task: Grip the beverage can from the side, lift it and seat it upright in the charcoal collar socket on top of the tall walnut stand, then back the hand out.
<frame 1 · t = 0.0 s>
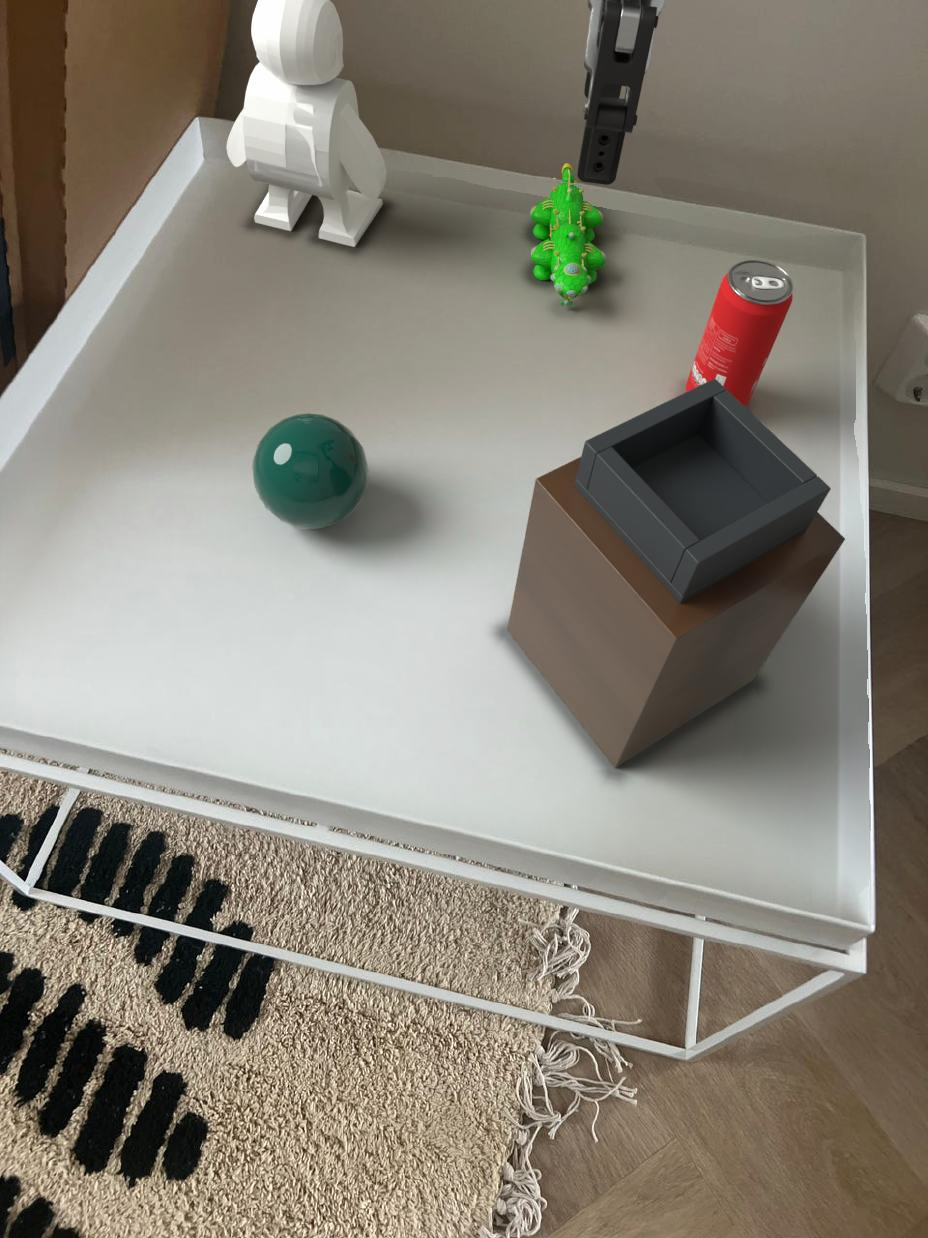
hand: (598, 136, 59), 23 cm above the table, tool pointing down, fingers open, 8 cm apart
sphere: (315, 509, 72), on the table
crocodile figurine: (563, 256, 89), on the table
beverage can: (713, 403, 80), on the table
toy robot: (313, 222, 89), on the table
socket: (689, 508, 53), resting on stand
stand: (629, 655, 67), on the table
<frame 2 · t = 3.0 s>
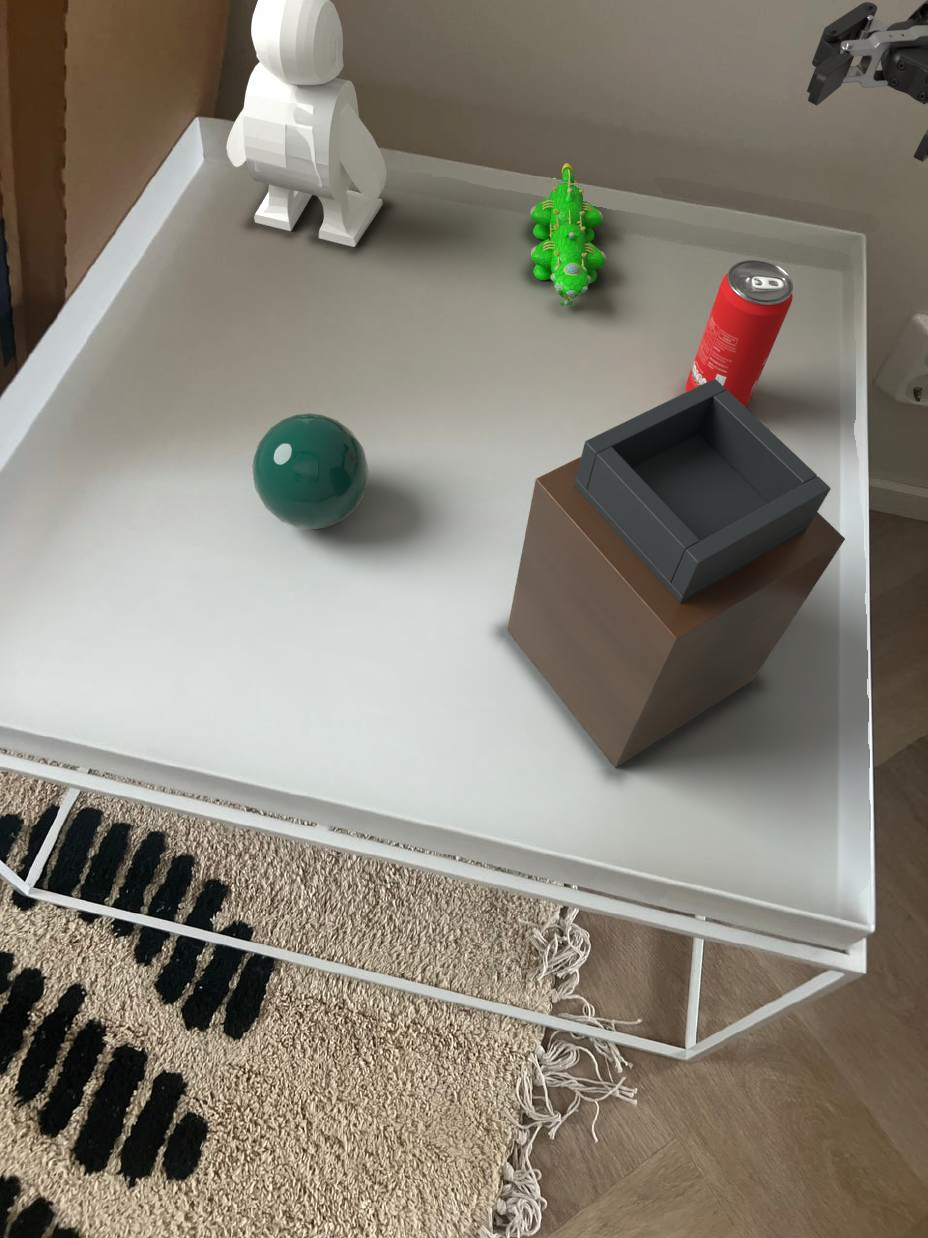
hand: (868, 118, 67), 20 cm above the table, tool horizontal, fingers open, 8 cm apart
nothing on the table moved.
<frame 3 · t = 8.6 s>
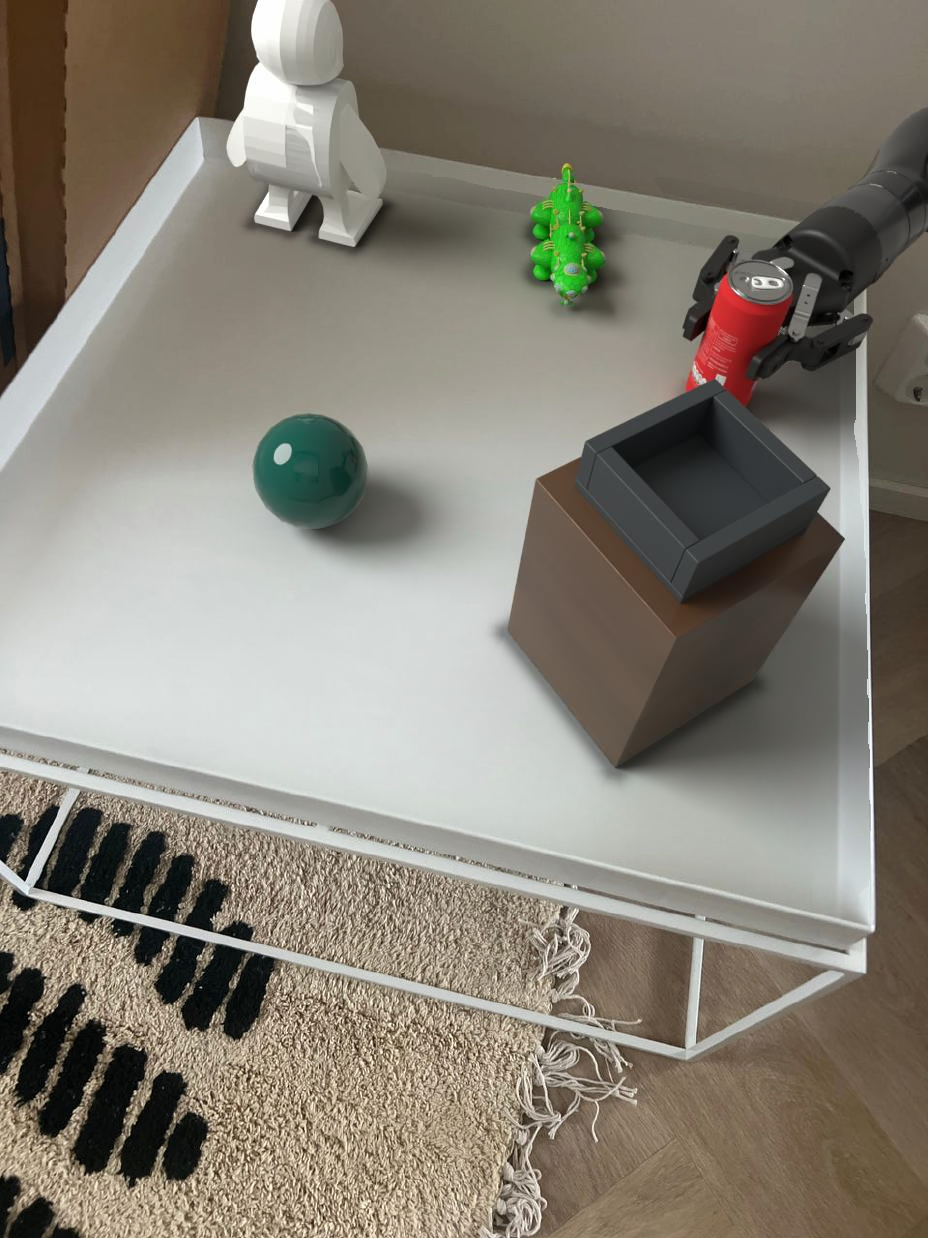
hand: (720, 349, 73), 7 cm above the table, tool horizontal, fingers closed on beverage can, 5 cm apart
beverage can: (713, 403, 80), on the table, touching gripper
everything else where it was.
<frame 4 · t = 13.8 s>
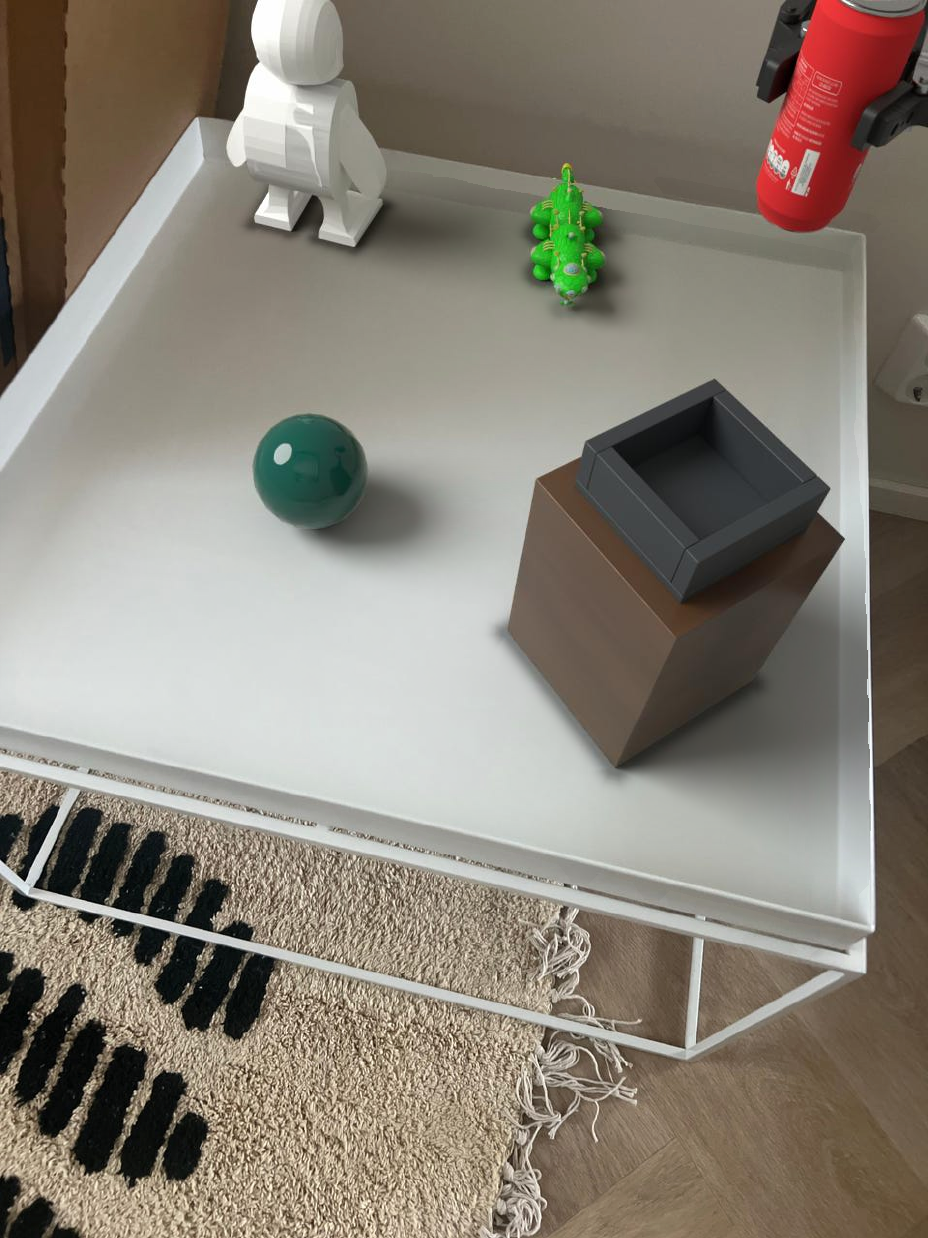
hand: (814, 106, 50), 30 cm above the table, tool horizontal, fingers closed on beverage can, 5 cm apart
beverage can: (793, 212, 57), point 22 cm above the table, touching gripper
everything else where it was.
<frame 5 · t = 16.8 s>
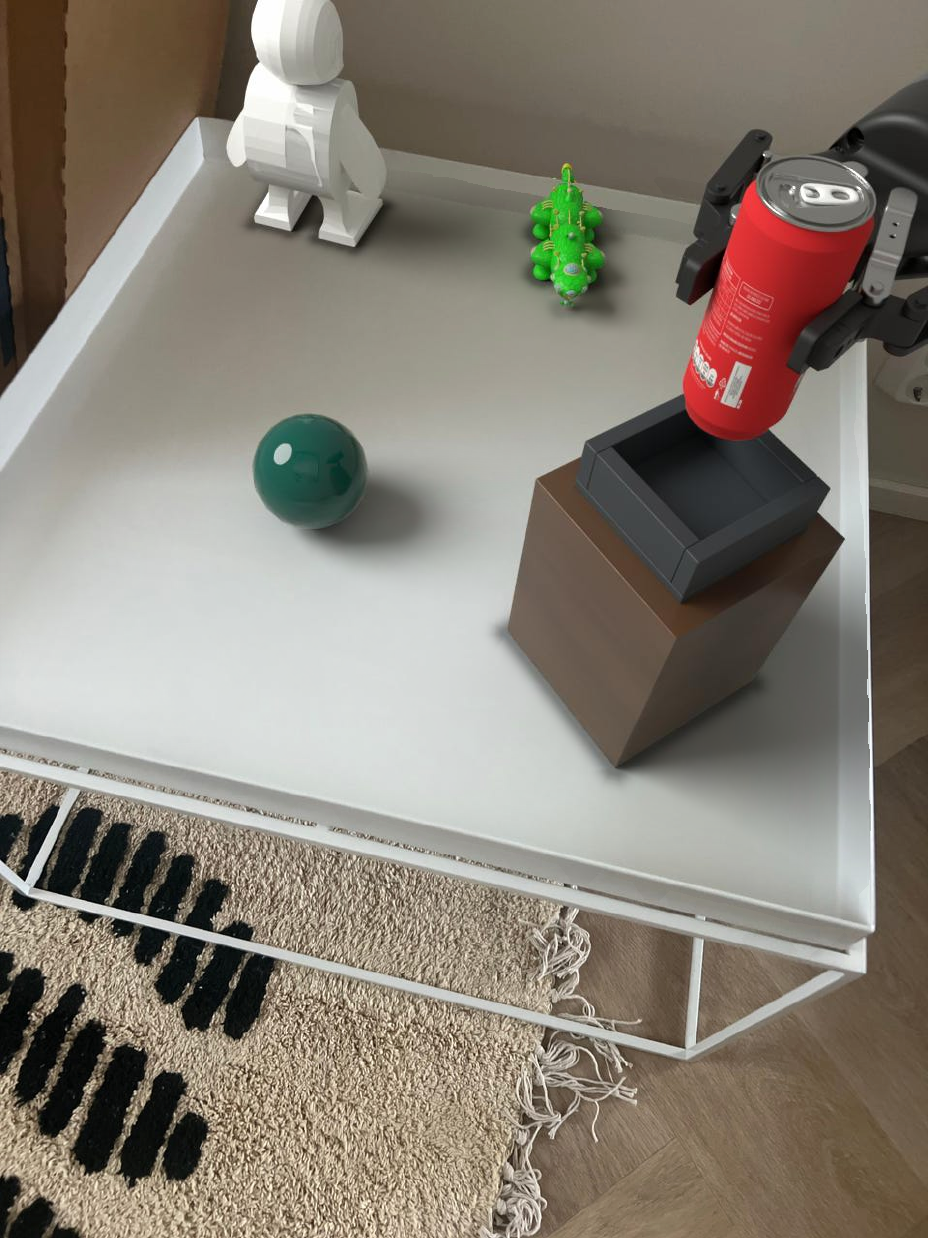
hand: (742, 318, 41), 29 cm above the table, tool horizontal, fingers closed on beverage can, 5 cm apart
beverage can: (728, 410, 49), point 22 cm above the table, touching gripper
everything else where it was.
when the fingers open (24 cm above the table, at t = 19.0 s): beverage can stays where it is, resting on socket.
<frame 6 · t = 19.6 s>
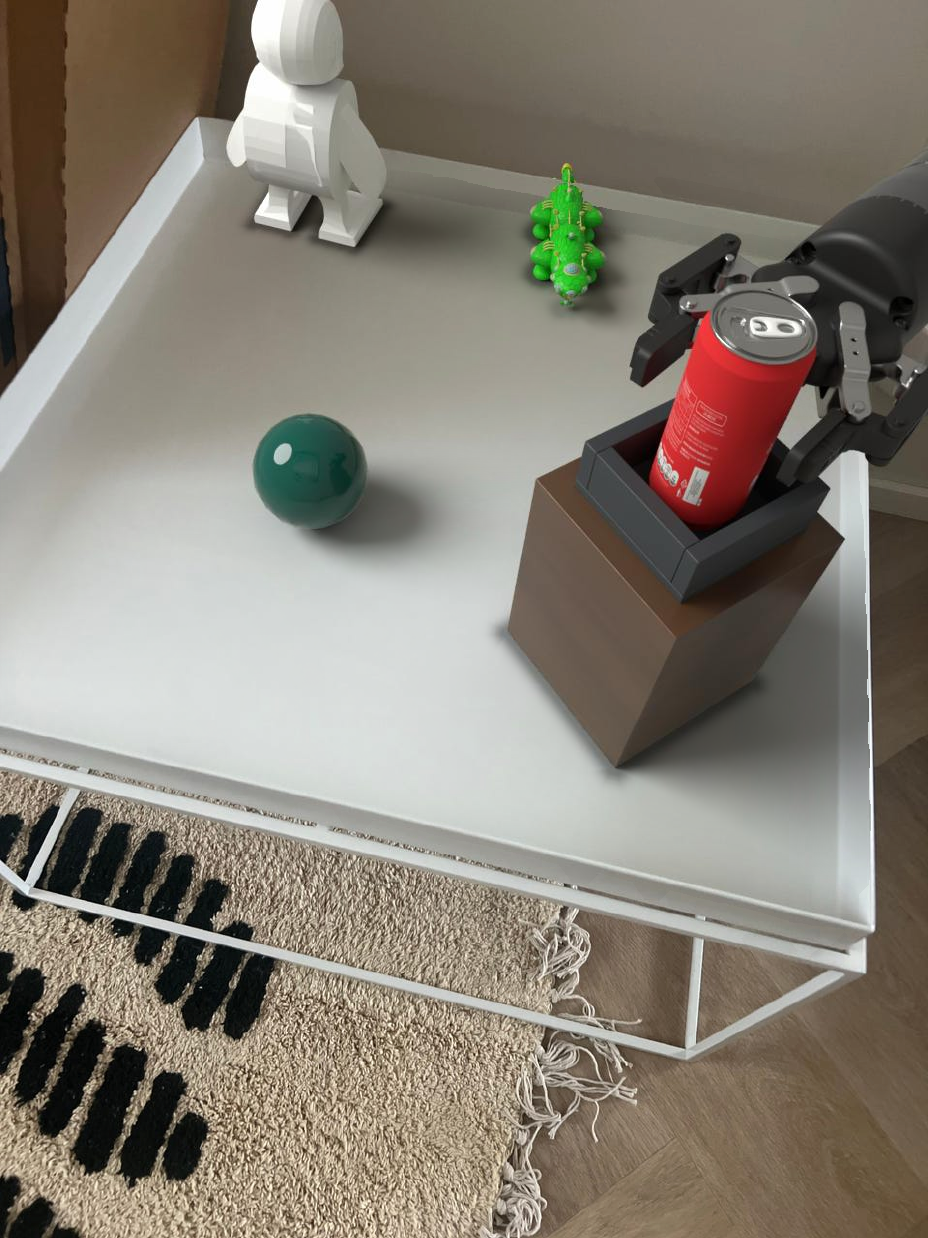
hand: (710, 419, 45), 24 cm above the table, tool horizontal, fingers open, 8 cm apart
beverage can: (691, 501, 53), point 16 cm above the table, touching socket
everything else where it was.
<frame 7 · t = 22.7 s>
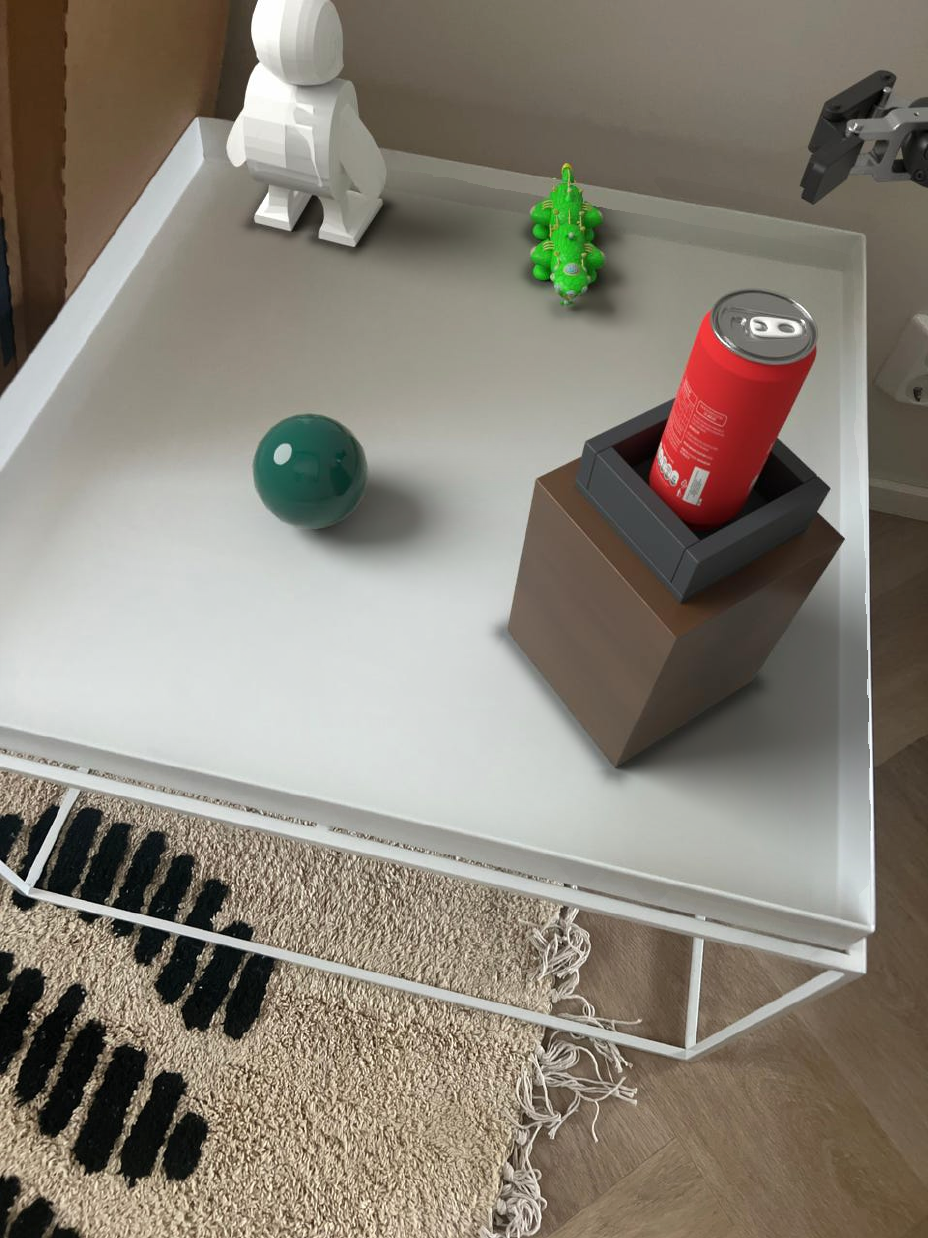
hand: (885, 225, 48), 28 cm above the table, tool horizontal, fingers open, 8 cm apart
nothing on the table moved.
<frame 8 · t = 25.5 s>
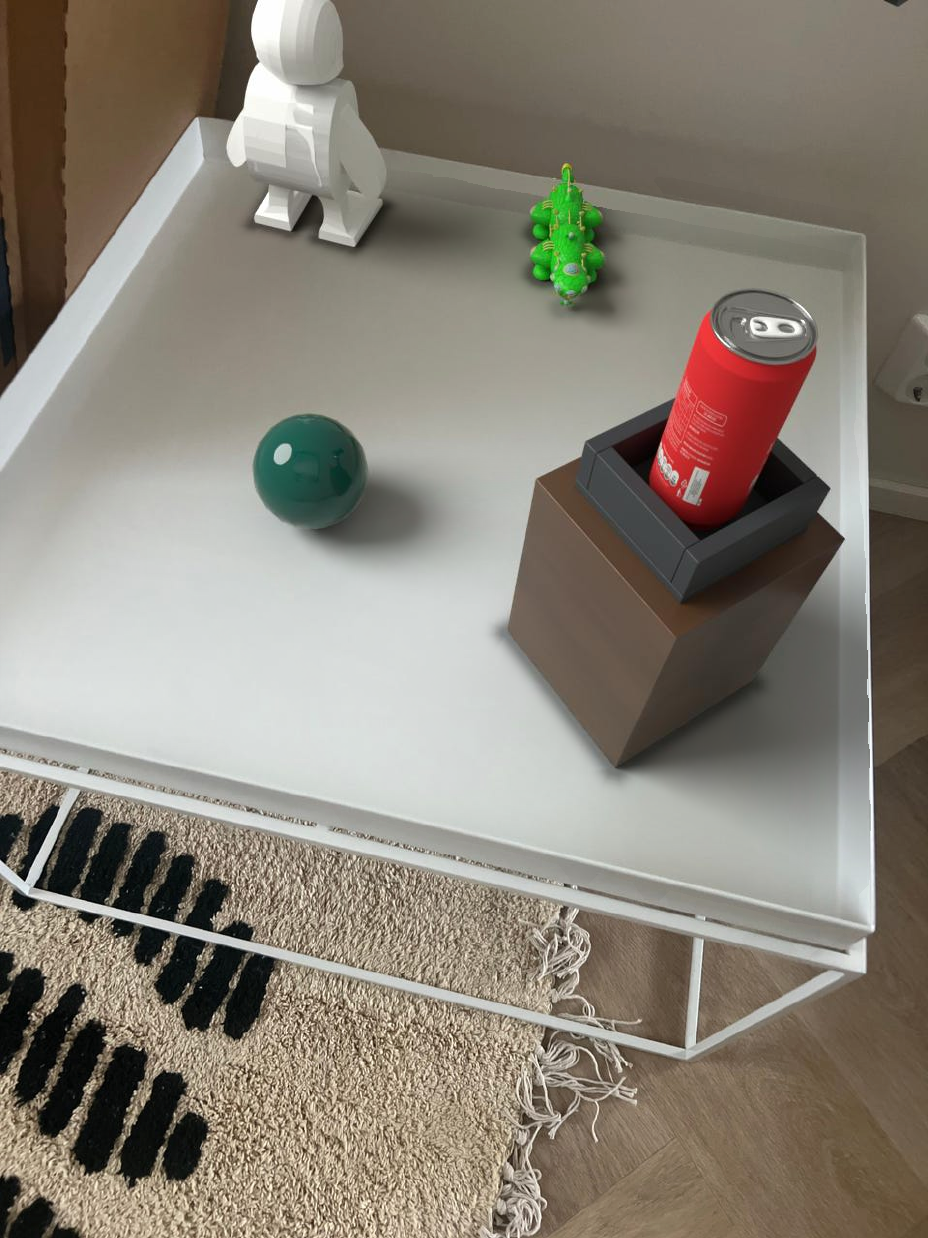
nothing on the table moved.
at the end: beverage can 0.1 cm off-centre on the socket, point 0.4 cm above the socket's base; beverage can tilted 0°; the gripper is holding nothing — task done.
